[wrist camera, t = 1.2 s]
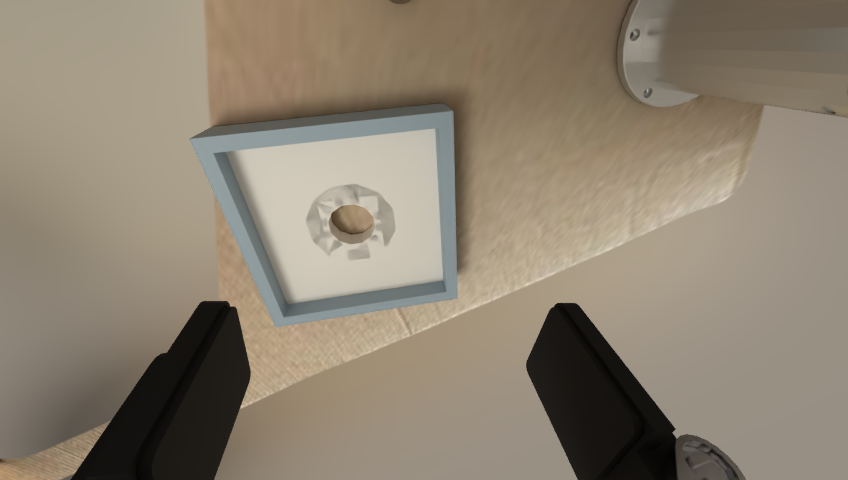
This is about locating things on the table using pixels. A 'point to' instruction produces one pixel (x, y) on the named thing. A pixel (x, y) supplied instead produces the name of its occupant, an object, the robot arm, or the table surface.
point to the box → (328, 190)
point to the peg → (399, 1)
